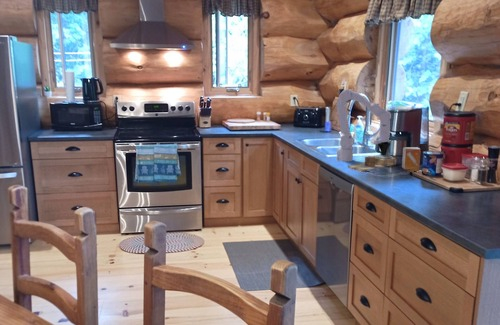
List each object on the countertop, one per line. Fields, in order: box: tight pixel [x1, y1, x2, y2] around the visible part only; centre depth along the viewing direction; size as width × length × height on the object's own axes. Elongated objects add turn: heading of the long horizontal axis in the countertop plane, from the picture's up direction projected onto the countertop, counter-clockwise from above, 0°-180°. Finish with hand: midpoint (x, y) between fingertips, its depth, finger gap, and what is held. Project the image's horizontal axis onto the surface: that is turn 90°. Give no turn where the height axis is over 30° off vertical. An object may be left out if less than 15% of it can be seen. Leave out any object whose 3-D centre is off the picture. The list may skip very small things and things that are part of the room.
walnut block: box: [364, 155, 375, 167], centre depth 257 cm, size 4×4×6 cm
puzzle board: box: [347, 155, 397, 173], centre depth 258 cm, size 13×25×5 cm, turn 121°
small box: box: [401, 146, 421, 173], centre depth 249 cm, size 8×6×13 cm
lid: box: [372, 152, 393, 159], centre depth 262 cm, size 8×7×3 cm
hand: (383, 155), depth 262 cm, fingers closed
